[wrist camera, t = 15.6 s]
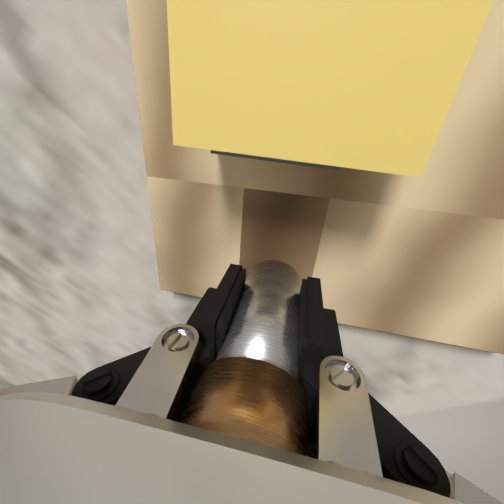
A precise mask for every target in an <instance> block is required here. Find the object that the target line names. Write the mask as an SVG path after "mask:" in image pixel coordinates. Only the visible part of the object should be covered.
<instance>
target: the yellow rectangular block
mask: <svg viewBox="0 0 504 504" xmlns="http://www.w3.org/2000/svg"><path fill="white" fill-rule="evenodd" d="M493 2H494V0H167V20H168V42H169V64H170V87H171V109H172V131H173V145H176V146H184V147H192V148H199V149H207V150H211V153H212V154H219V155H227V156H234V157H242V158H249V159H257V160H264V161H272V162H279V163H287V164H295V165H302V166H310V167H317V168H325V169H332V170H340V167H344V168H352V169H360V170H367V171H375V172H383V173H390V174H398V175H406V176H413V177H421V176H422V173H423V171H424V169H425V166H426V164H427V161H428V159H429V156H430V154H431V152H432V149H433V147H434V144H435V142H436V140H437V137H438V135H439V132H440V130H441V128H442V125H443V123H444V120H445V118H446V115H447V113H448V111H449V108H450V106H451V103H452V101H453V99H454V96H455V94H456V91H457V89H458V87H459V84H460V82H461V79H462V77H463V74H464V72H465V70H466V67H467V65H468V62H469V60H470V58H471V55H472V53H473V50H474V48H475V46H476V43H477V41H478V38H479V36H480V33H481V31H482V29H483V26H484V24H485V21H486V19H487V17H488V14H489V12H490V9H491V7H492V5H493Z"/></svg>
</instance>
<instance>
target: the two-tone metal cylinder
mask: <svg viewBox="0 0 504 504" xmlns="http://www.w3.org/2000/svg"><path fill="white" fill-rule="evenodd" d="M300 289H301V280H300V277H299V275H298V273H297V272H296V271H295V269H294V268H292V267H291V266H290V265H288V264H286V263H284V262H281V261H277V260H267V261H262V262H260V263H258V264H256V265H255V266H254V267H253V268H252V269H251V270H250V272H249V274H248V277H247V279H246V282H245V286H244V289H243V291H242V294H241V297H240V299H239V302H238V305H237V307H236V310H235V312H234V315H233V318H232V320H231V323H230V326H229V328H228V331H227V334H226V336H225V339H224V342H223V344H222V347H221V349H220V351H219V353H218V355H217V358H216V360H215V361H213V362H211V363H209V364H208V365H207V366H205V367H204V368H203V369H202V371H201V373H200V374H199V377H198V379H197V382H196V384H195V386H194V389H193V391H192V393H191V396H190V398H189V400H188V403H187V405H186V407H185V410H184V412H183V415H182V417H181V419H180V423H184V424H188V425H191V426H195V427H199V428H203V429H206V430H210V431H214V432H218V433H221V434H225V435H229V436H233V437H237V438H240V439H244V440H248V441H251V442H255V443H259V444H263V445H266V446H270V447H274V448H278V449H281V450H285V451H289V452H292V453H296V454H300V455H303V456H307V457H309V406H308V397H307V394H306V392H305V390H304V388H303V387H302V386H301V384H300V383H299V382H298V378H299V371H298V367H297V349H298V321H299V294H300Z"/></svg>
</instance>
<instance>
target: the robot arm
mask: <svg viewBox="0 0 504 504" xmlns="http://www.w3.org/2000/svg"><path fill="white" fill-rule="evenodd" d="M245 280H246V269H242V265H236V264H230V266H229V267H228V269H227V271H226V273H225V275H224V276H223V278H222V280H221V282H220V283H219V285H218V287H217V288H211V287H209V288H208V289H207V291H206V292H205V294H204V295H203V297H202V299H201V300H200V302H199V304H198V305H197V307H196V308H195V310H194V312H193V313H192V315H191V317H190V318H189V320H188V321H187V323H186V324H177V325H173V326H170V327H168V328H166V329H165V330H163V331H162V332H161V333H160V335H159V336H158V338H157V339H156V341H155V342H154V344H153V346H152V347H149V348H147V349H144V350H142V351H139V352H137V353H134V354H132V355H129V356H126V357H124V358H121V359H119V360H116V361H114V362H111V363H108V364H106V365H103V366H101V367H98V368H96V369H94V370H92V371H90V372H88V373H87V374H86V375H84V376H83V377H82V378H80V379H77V377H76V376H72V377H66V378H60V379H54V380H48V381H42V382H36V383H30V384H24V385H18V386H12V387H8V388H5V389H2V390H0V504H503V503H501V502H500V501H498V500H497V499H495V498H494V497H492V496H491V495H489V494H488V493H486V492H484V491H483V490H481V489H480V488H478V487H477V486H475V485H474V484H472V483H471V482H469V481H468V480H466V479H465V478H463V477H462V476H460V475H458V474H457V473H454V474H453V475H451V474H450V473H448V472H447V471H445V469H444V468H443V466H442V465H441V463H440V461H439V460H438V459H437V458H436V457H435V455H434V454H433V453H432V452H431V451H430V450H429V449H428V448H427V447H426V446H425V445H424V444H423V443H422V442H420V441H419V440H418V439H417V438H416V437H415V436H414V435H413V434H412V433H411V432H410V431H409V430H408V429H406V428H405V427H404V426H403V425H402V424H401V423H400V422H399V421H398V420H397V419H396V418H395V417H394V416H392V415H391V414H390V413H389V412H388V411H387V410H386V409H385V408H384V407H383V406H382V405H381V404H380V403H378V402H377V401H376V400H375V399H374V398H373V397H372V396H371V395H370V394H369V393H368V389H367V384H366V379H365V376H364V374H363V372H362V371H361V369H360V368H359V367H358V366H357V365H356V364H355V363H354V362H352V361H350V360H349V359H347V358H344V357H343V353H342V347H341V341H340V335H339V329H338V323H337V318H336V312H335V310H332V309H327V308H323V299H322V290H321V280H320V278H314V277H307V279H303V280H302V284H301V289H300V294H299V321H298V349H297V367H298V371H299V378H298V382H299V383H300V384H301V386H302V387H303V388H304V390H305V392H306V394H307V397H308V406H309V457H307V456H303V455H300V454H296V453H292V452H289V451H285V450H281V449H278V448H274V447H270V446H266V445H263V444H259V443H255V442H251V441H248V440H244V439H240V438H237V437H233V436H229V435H225V434H221V433H218V432H214V431H210V430H206V429H203V428H199V427H195V426H191V425H188V424H184V423H180V419H181V417H182V415H183V412H184V410H185V407H186V405H187V403H188V400H189V398H190V396H191V393H192V391H193V389H194V386H195V384H196V382H197V379H198V377H199V374H200V373H201V371H202V369H203V368H204V367H205V366H207V365H208V364H209V363H211V362H213V361H215V360H216V358H217V355H218V353H219V351H220V349H221V347H222V344H223V342H224V339H225V336H226V334H227V331H228V328H229V326H230V323H231V320H232V318H233V315H234V312H235V310H236V307H237V305H238V302H239V299H240V297H241V294H242V291H243V289H244V286H245Z"/></svg>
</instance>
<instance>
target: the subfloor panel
mask: <svg viewBox="0 0 504 504" xmlns="http://www.w3.org/2000/svg"><path fill="white" fill-rule="evenodd" d="M126 5H127V14H128V22H129V30H130V39H131V47H132V55H133V64H134V72H135V81H136V89H137V97H138V106H139V114H140V122H141V131H142V139H143V147H144V156H145V164H146V172H147V181H148V189H149V197H150V206H151V214H152V223H153V231H154V239H155V248H156V256H157V264H158V273H159V281H160V289H161V290H165V291H170V292H176V293H181V294H186V295H192V296H197V297H203V295H204V294H205V292H206V291H207V289H208V288H209V287H211V288H217V287H218V285H219V283H220V282H221V280H222V278H223V276H224V275H225V273H226V271H227V269H228V267H229V266H230V264H236V265H242V269H246V279H247V277H248V274H249V272H250V270H251V269H252V268H253V267H254V266H255V265H256V264H258V263H260V262H262V261H267V260H277V261H281V262H284V263H286V264H288V265H290V266H291V267H292V268H294V269H295V271H296V272H297V273H298V275H299V277H300V280H301V284H302V280H303V279H307V277H314V278H320V280H321V290H322V299H323V308H327V309H332V310H335V312H336V318H337V323H340V324H346V325H351V326H356V327H362V328H367V329H372V330H378V331H383V332H388V333H393V334H399V335H404V336H409V337H415V338H420V339H425V340H431V341H436V342H441V343H447V344H452V345H457V346H463V347H468V348H473V349H478V350H484V351H489V352H494V353H500V354H504V0H494V2H493V5H492V7H491V9H490V12H489V14H488V17H487V19H486V21H485V24H484V26H483V29H482V31H481V33H480V36H479V38H478V41H477V43H476V46H475V48H474V50H473V53H472V55H471V58H470V60H469V62H468V65H467V67H466V70H465V72H464V74H463V77H462V79H461V82H460V84H459V87H458V89H457V91H456V94H455V96H454V99H453V101H452V103H451V106H450V108H449V111H448V113H447V115H446V118H445V120H444V123H443V125H442V128H441V130H440V132H439V135H438V137H437V140H436V142H435V144H434V147H433V149H432V152H431V154H430V156H429V159H428V161H427V164H426V166H425V169H424V171H423V173H422V176H421V177H413V176H406V175H398V174H390V173H383V172H375V171H367V170H360V169H352V168H344V167H340V170H332V169H325V168H317V167H310V166H302V165H295V164H287V163H279V162H272V161H264V160H257V159H249V158H242V157H234V156H227V155H219V154H212V153H211V150H207V149H199V148H192V147H184V146H176V145H173V131H172V109H171V87H170V64H169V42H168V20H167V0H126ZM245 282H246V280H245Z"/></svg>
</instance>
